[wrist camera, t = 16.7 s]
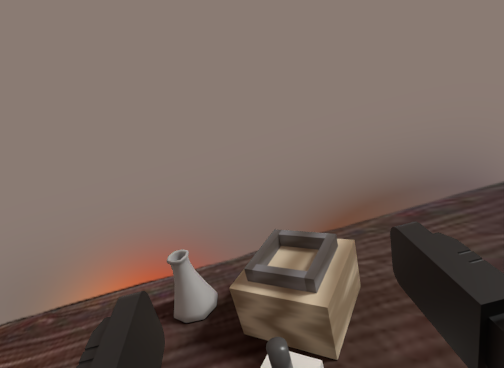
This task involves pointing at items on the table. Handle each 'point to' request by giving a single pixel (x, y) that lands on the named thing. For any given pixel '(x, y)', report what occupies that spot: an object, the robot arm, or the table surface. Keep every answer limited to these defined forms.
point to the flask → (190, 290)
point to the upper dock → (299, 291)
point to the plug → (286, 356)
